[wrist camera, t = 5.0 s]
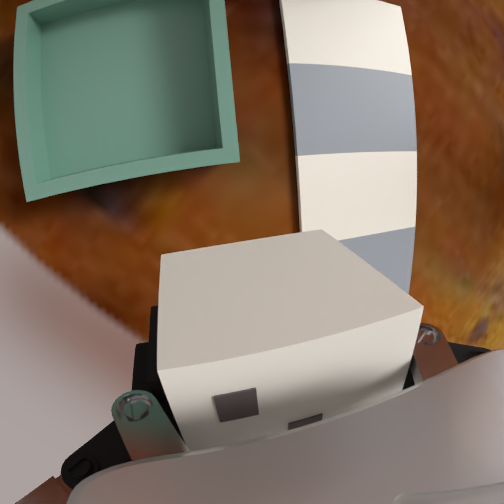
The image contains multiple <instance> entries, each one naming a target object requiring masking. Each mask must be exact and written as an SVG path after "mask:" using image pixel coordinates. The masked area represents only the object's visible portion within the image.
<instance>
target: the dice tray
mask: <svg viewBox="0 0 504 504" xmlns="http://www.w3.org/2000/svg"><path fill="white" fill-rule="evenodd" d="M13 82H14V109H15V124H16V135H17V144H18V152H19V160H20V167H21V174H22V180H23V186H24V191H25V196H26V202H29V201H33V200H37V199H41V198H44V197H48V196H52V195H56V194H60V193H65V192H69V191H73V190H77V189H82V188H86V187H91V186H95V185H100V184H105V183H110V182H115V181H120V180H125V179H130V178H136V177H141V176H147V175H152V174H158V173H164V172H170V171H176V170H183V169H189V168H196V167H203V166H211V165H218V164H226V163H234V162H240V157H239V147H238V136H237V126H236V116H235V106H234V95H233V85H232V74H231V64H230V53H229V43H228V32H227V22H226V11H225V1H224V0H33V1H31V2H28V3H25V4H23V5H21V6H18V7H17V14H16V25H15V38H14V65H13Z"/></svg>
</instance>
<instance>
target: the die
mask: <svg viewBox="0 0 504 504" xmlns="http://www.w3.org/2000/svg"><path fill="white" fill-rule="evenodd" d="M423 308H424V306H422V305H421V304H420V303H419V302H417V301H416V300H415V299H414V298H412V297H411V296H410V295H409V294H407V293H406V292H405V291H403V290H402V289H401V288H400V287H398V286H397V285H396V284H395V283H393V282H392V281H391V280H389V279H388V278H387V277H386V276H384V275H383V274H382V273H380V272H379V271H378V270H376V269H375V268H374V267H372V266H371V265H370V264H368V263H367V262H366V261H364V260H363V259H362V258H360V257H359V256H358V255H356V254H355V253H354V252H352V251H351V250H350V249H348V248H347V247H346V246H344V245H343V244H342V243H340V242H339V241H337V240H336V239H335V238H333V237H332V236H331V235H329V234H328V233H326V232H325V231H324V230H322V229H319V230H313V231H306V232H300V233H293V234H287V235H280V236H274V237H268V238H261V239H255V240H249V241H242V242H236V243H230V244H224V245H217V246H211V247H205V248H199V249H193V250H187V251H181V252H175V253H169V254H162V255H161V266H160V282H159V302H158V331H157V372H158V375H159V378H160V380H161V383H162V386H163V389H164V391H165V394H166V397H167V399H168V402H169V405H170V407H171V410H172V412H173V415H174V417H175V420H176V422H177V425H178V427H179V430H180V432H181V434H182V437H183V439H184V441H185V444H186V446H187V448H188V449H189V450H190V451H195V450H201V449H207V448H212V447H217V446H223V445H228V444H233V443H238V442H242V441H247V440H251V439H256V438H260V437H264V436H268V435H272V434H276V433H280V432H284V431H287V430H291V429H295V428H298V427H302V426H305V425H308V424H312V423H315V422H318V421H321V420H325V419H328V418H331V417H334V416H337V415H340V414H343V413H346V412H348V411H351V410H354V409H357V408H359V407H362V406H365V405H367V404H370V403H373V402H375V401H378V400H380V399H383V398H385V397H388V396H390V395H393V394H395V393H397V392H400V391H402V389H403V386H404V382H405V379H406V376H407V372H408V369H409V365H410V362H411V358H412V354H413V351H414V347H415V343H416V339H417V335H418V331H419V326H420V322H421V317H422V313H423Z"/></svg>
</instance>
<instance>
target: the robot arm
mask: <svg viewBox="0 0 504 504" xmlns="http://www.w3.org/2000/svg"><path fill="white" fill-rule="evenodd" d="M157 331H158V306H152V307H151V315H150V330H149V342H146V343H139V344H136V348H135V358H134V368H133V381H132V391H130V392H126V393H124V394H123V395H121V396H120V397H119V398H117V399H116V400H115V402H114V404H113V406H112V410H111V411H112V416H113V419H114V421H113V422H111V423H110V424H109V425H108V426H107V427H105V428H104V429H103V430H102V431H100V432H99V433H98V434H97V435H95V436H94V437H93V438H92V439H91V440H89V441H88V442H87V443H85V444H84V445H83V446H82V447H80V448H79V449H78V450H77V451H75V452H74V453H73V454H72V455H70V456H69V457H68V458H67V459H66V460H65V462H64V463H63V465H62V468H61V475H60V476H59V477H57V478H56V479H55V478H54V477H53V476H52V477H51V478H49V479H48V480H47V481H46V482H44V483H43V484H41V485H40V486H39V487H37V488H36V489H35V490H33V491H32V492H30V493H29V494H28V495H26V496H25V497H24V498H22V499H21V500H19V501H18V502H16V503H15V504H504V349H499V350H493V351H491V350H489V349H485V348H480V347H474V346H468V345H462V344H456V343H450V342H447V340H446V338H445V336H444V334H443V333H442V331H441V330H440V329H439V328H437V327H436V326H433V325H431V324H426V323H420V326H419V331H418V335H417V339H416V343H415V347H414V351H413V354H412V358H411V362H410V365H409V369H408V372H407V376H406V379H405V382H404V386H403V389H402V391H400V392H397V393H395V394H393V395H390V396H388V397H385V398H383V399H380V400H378V401H375V402H373V403H370V404H367V405H365V406H362V407H359V408H357V409H354V410H351V411H348V412H346V413H343V414H340V415H337V416H334V417H331V418H328V419H325V420H321V421H318V422H315V423H312V424H308V425H305V426H302V427H298V428H295V429H291V430H287V431H284V432H280V433H276V434H272V435H268V436H264V437H260V438H256V439H251V440H247V441H242V442H238V443H233V444H228V445H223V446H217V447H212V448H207V449H201V450H195V451H190V450H189V449H188V448H187V446H186V444H185V441H184V439H183V437H182V434H181V432H180V430H179V427H178V425H177V422H176V420H175V417H174V415H173V412H172V410H171V407H170V405H169V402H168V399H167V397H166V394H165V391H164V389H163V386H162V383H161V380H160V378H159V375H158V372H157Z"/></svg>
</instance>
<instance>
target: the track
mask: <svg viewBox="0 0 504 504" xmlns="http://www.w3.org/2000/svg"><path fill="white" fill-rule="evenodd" d="M279 2H280V10H281V18H282V25H283V33H284V42H285V50H286V59H287V69H288V78H289V88H290V99H291V109H292V121H293V133H294V146H295V159H296V174H297V189H298V207H299V226H300V232H306V231H313V230H319V229H322V230H324V231H325V232H326V233H328V234H329V235H331V236H332V237H333V238H335V239H336V240H337V241H339V242H340V243H342V244H343V245H344V246H346V247H347V248H348V249H350V250H351V251H352V252H354V253H355V254H356V255H358V256H359V257H360V258H362V259H363V260H364V261H366V262H367V263H368V264H370V265H371V266H372V267H374V268H375V269H376V270H378V271H379V272H380V273H382V274H383V275H384V276H386V277H387V278H388V279H389V280H391V281H392V282H393V283H395V284H396V285H397V286H398V287H400V288H401V289H402V290H403V291H405V292H406V293H407V294H408V293H409V287H410V279H411V270H412V260H413V249H414V237H415V221H416V198H417V143H416V121H415V106H414V94H413V84H412V74H411V66H410V59H409V51H408V45H407V39H406V33H405V27H404V22H403V16H402V11H401V7H400V6H396V5H393V4H389V3H386V2H382V1H378V0H279Z"/></svg>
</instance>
